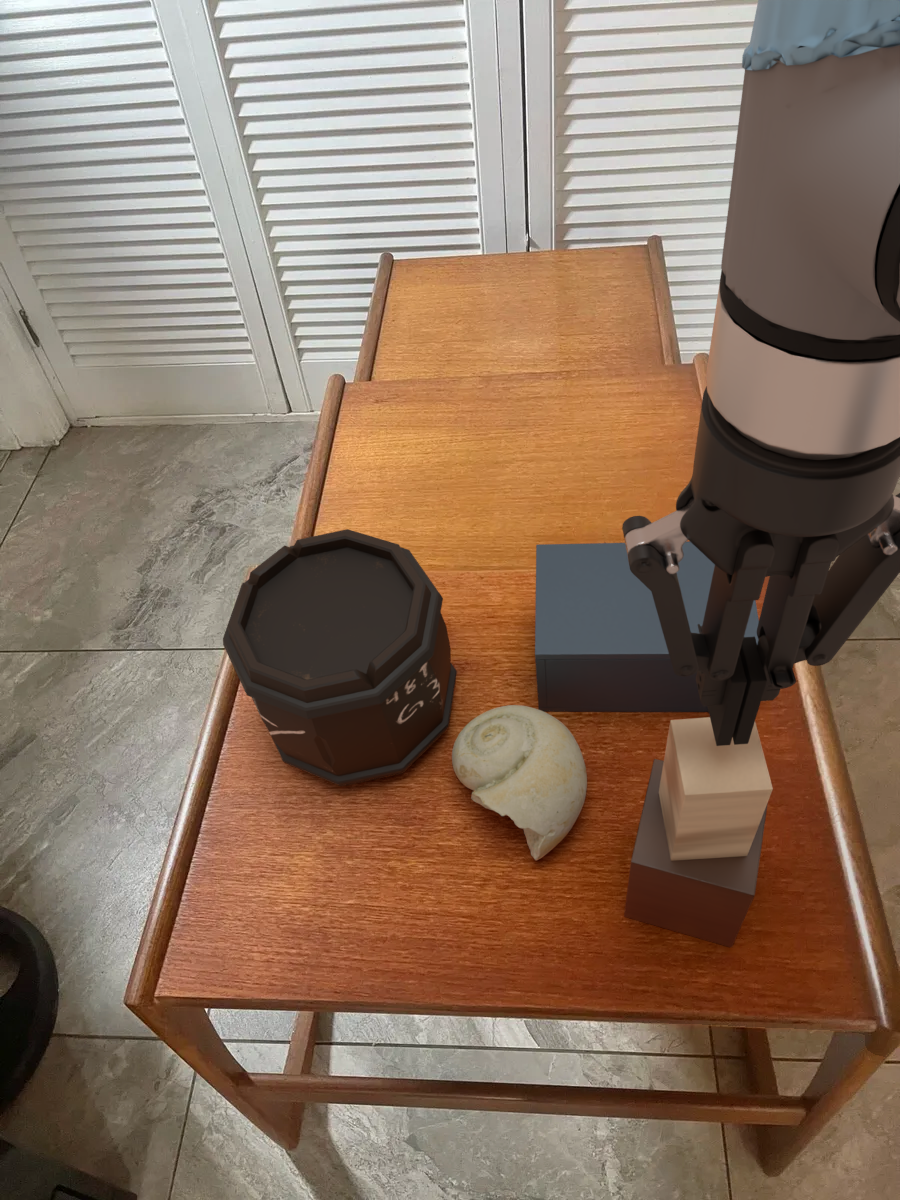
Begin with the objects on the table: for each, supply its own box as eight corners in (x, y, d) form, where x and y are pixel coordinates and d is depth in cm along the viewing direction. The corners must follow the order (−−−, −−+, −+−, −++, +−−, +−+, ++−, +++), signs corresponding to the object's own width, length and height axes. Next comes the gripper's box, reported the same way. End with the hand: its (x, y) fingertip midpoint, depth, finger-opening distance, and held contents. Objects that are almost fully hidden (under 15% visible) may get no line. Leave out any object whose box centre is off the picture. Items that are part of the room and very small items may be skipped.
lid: (536, 549, 81) (536, 544, 80) (744, 545, 79) (745, 540, 78) (535, 659, 74) (534, 654, 73) (762, 658, 72) (764, 653, 71)
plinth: (731, 948, 67) (754, 895, 58) (623, 916, 69) (630, 862, 60) (746, 848, 71) (770, 785, 62) (645, 821, 73) (654, 758, 65)
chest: (539, 614, 87) (536, 559, 81) (732, 612, 85) (745, 555, 78) (538, 711, 81) (535, 660, 74) (747, 712, 78) (762, 659, 72)
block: (747, 856, 60) (773, 789, 52) (670, 861, 60) (684, 795, 52) (731, 787, 63) (753, 713, 55) (658, 791, 63) (670, 719, 55)
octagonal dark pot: (289, 622, 90) (244, 515, 78) (468, 631, 87) (450, 520, 75) (240, 788, 79) (178, 694, 67) (442, 804, 76) (415, 709, 64)
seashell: (426, 719, 73) (535, 661, 74) (445, 753, 80) (545, 699, 80) (499, 861, 66) (618, 795, 67) (513, 884, 73) (621, 824, 74)
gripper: (963, 313, 34) (829, 659, 53) (612, 349, 35) (601, 677, 54) (1047, 447, 30) (868, 775, 48) (640, 485, 31) (617, 792, 49)
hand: (727, 723), depth 51 cm, fingers closed
